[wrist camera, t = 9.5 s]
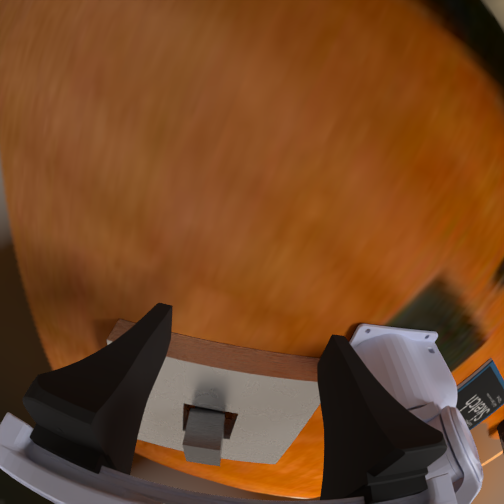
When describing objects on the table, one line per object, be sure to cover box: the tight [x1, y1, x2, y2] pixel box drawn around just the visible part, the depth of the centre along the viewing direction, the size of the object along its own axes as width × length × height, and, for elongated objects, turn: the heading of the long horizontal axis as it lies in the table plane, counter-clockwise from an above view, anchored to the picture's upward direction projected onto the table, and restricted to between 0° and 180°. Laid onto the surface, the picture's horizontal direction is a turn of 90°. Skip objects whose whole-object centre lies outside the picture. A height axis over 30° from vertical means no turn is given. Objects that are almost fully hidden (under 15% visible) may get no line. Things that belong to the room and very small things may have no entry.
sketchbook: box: [456, 358, 504, 430], centre depth 34 cm, size 22×30×2 cm
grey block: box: [182, 406, 225, 466], centre depth 26 cm, size 4×4×8 cm
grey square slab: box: [107, 319, 320, 464], centre depth 28 cm, size 20×20×3 cm
